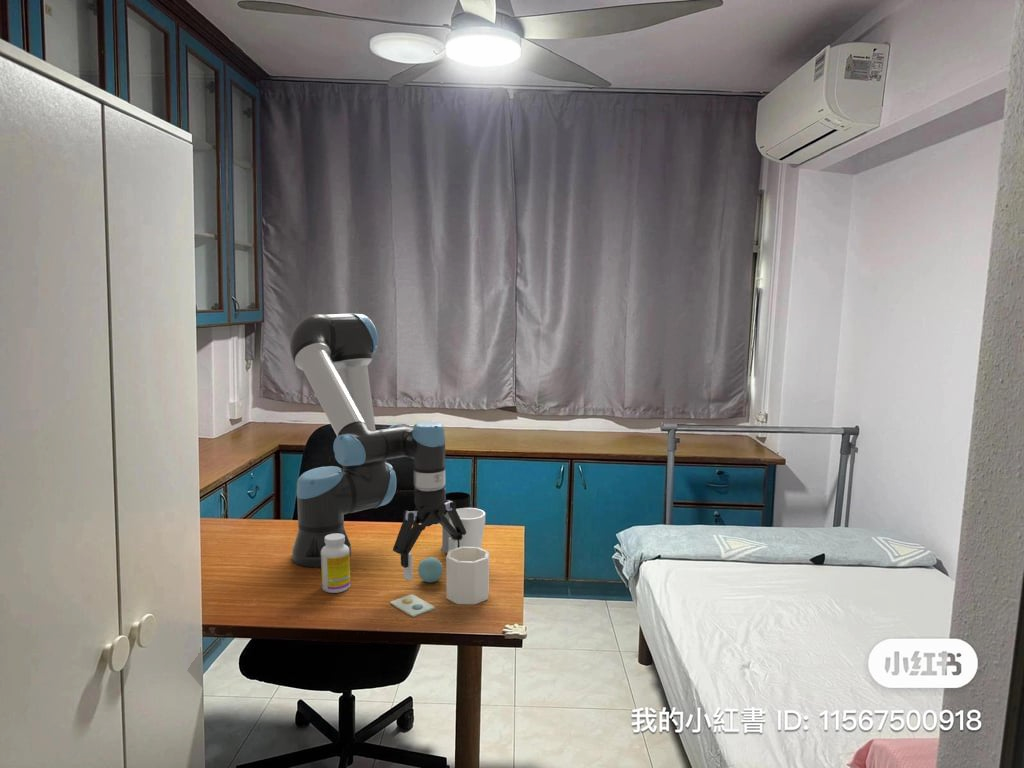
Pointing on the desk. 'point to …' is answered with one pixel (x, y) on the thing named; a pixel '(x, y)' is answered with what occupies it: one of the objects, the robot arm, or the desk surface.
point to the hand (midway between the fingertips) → (431, 571)
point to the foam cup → (471, 526)
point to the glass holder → (461, 502)
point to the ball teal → (430, 569)
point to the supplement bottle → (335, 564)
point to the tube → (467, 575)
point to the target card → (412, 605)
